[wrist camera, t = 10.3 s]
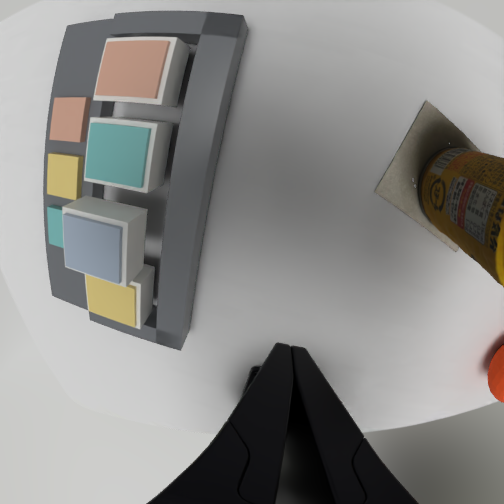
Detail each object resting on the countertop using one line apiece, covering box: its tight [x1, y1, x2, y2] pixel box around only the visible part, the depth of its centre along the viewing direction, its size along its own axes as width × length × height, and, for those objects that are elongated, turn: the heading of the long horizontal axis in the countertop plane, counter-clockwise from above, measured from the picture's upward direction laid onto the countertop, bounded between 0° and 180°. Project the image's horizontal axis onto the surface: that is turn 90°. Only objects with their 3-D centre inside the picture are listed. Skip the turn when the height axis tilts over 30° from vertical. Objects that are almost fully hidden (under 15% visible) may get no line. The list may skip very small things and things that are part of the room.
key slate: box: [62, 196, 148, 287], centre depth 16 cm, size 4×4×4 cm
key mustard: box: [85, 264, 155, 329], centre depth 20 cm, size 4×4×4 cm
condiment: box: [375, 101, 504, 287], centre depth 11 cm, size 7×8×12 cm
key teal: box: [84, 117, 174, 193], centre depth 16 cm, size 4×4×4 cm
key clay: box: [93, 37, 191, 107], centre depth 14 cm, size 4×4×4 cm
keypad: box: [43, 11, 248, 351], centre depth 18 cm, size 22×13×2 cm, turn 167°
